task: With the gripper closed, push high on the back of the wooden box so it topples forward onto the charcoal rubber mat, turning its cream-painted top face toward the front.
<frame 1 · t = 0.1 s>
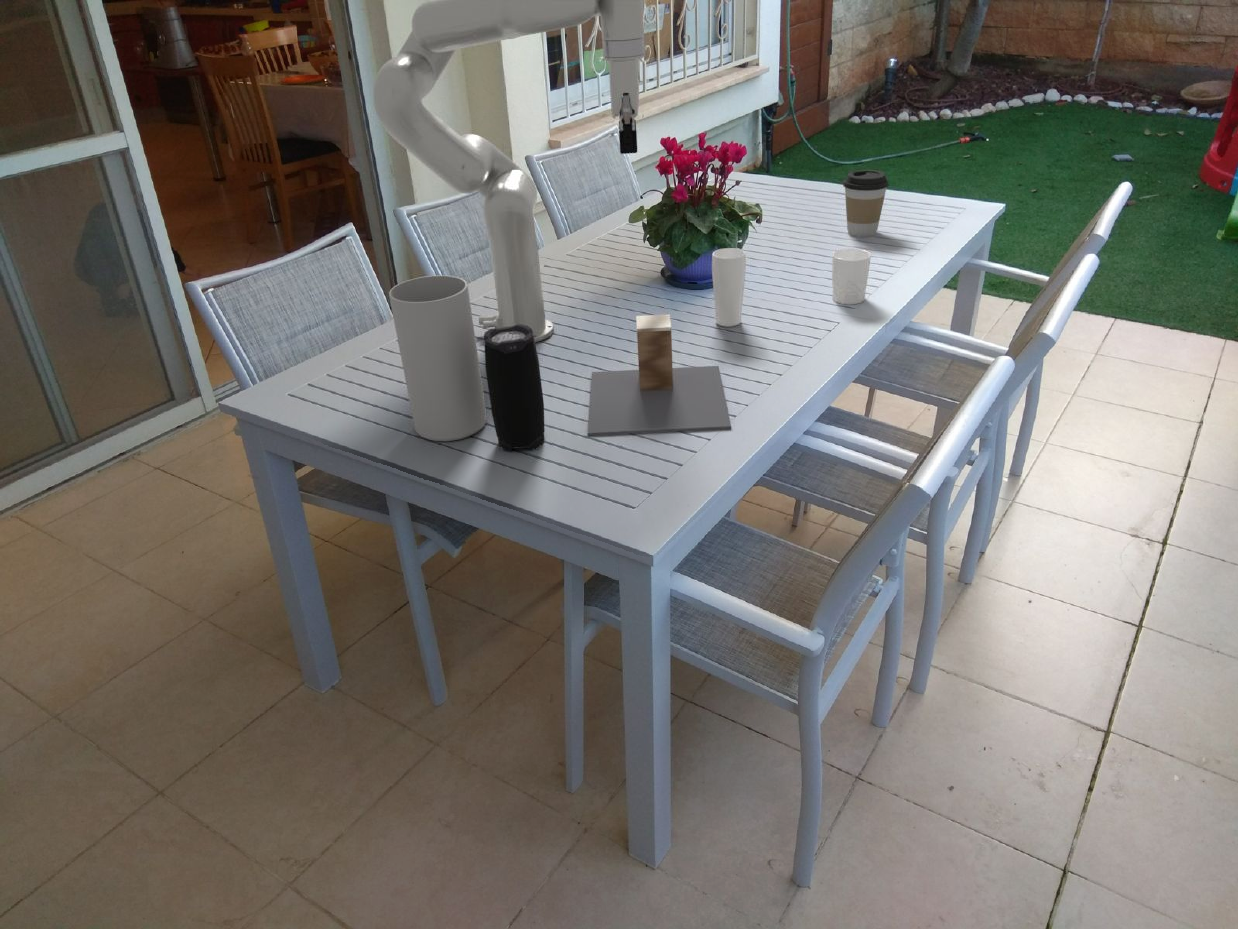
hand: (628, 147, 176), 37 cm above the table, tool pointing down, fingers open, 9 cm apart
cylinder vase: (451, 426, 162), on the table
rubber mat: (657, 399, 166), on the table
portable speaker: (522, 442, 156), on the table
white cup: (848, 299, 202), on the table
coffee cup: (861, 233, 242), on the table
drinking glass 2: (728, 323, 195), on the table
wooden box: (656, 382, 171), resting on rubber mat
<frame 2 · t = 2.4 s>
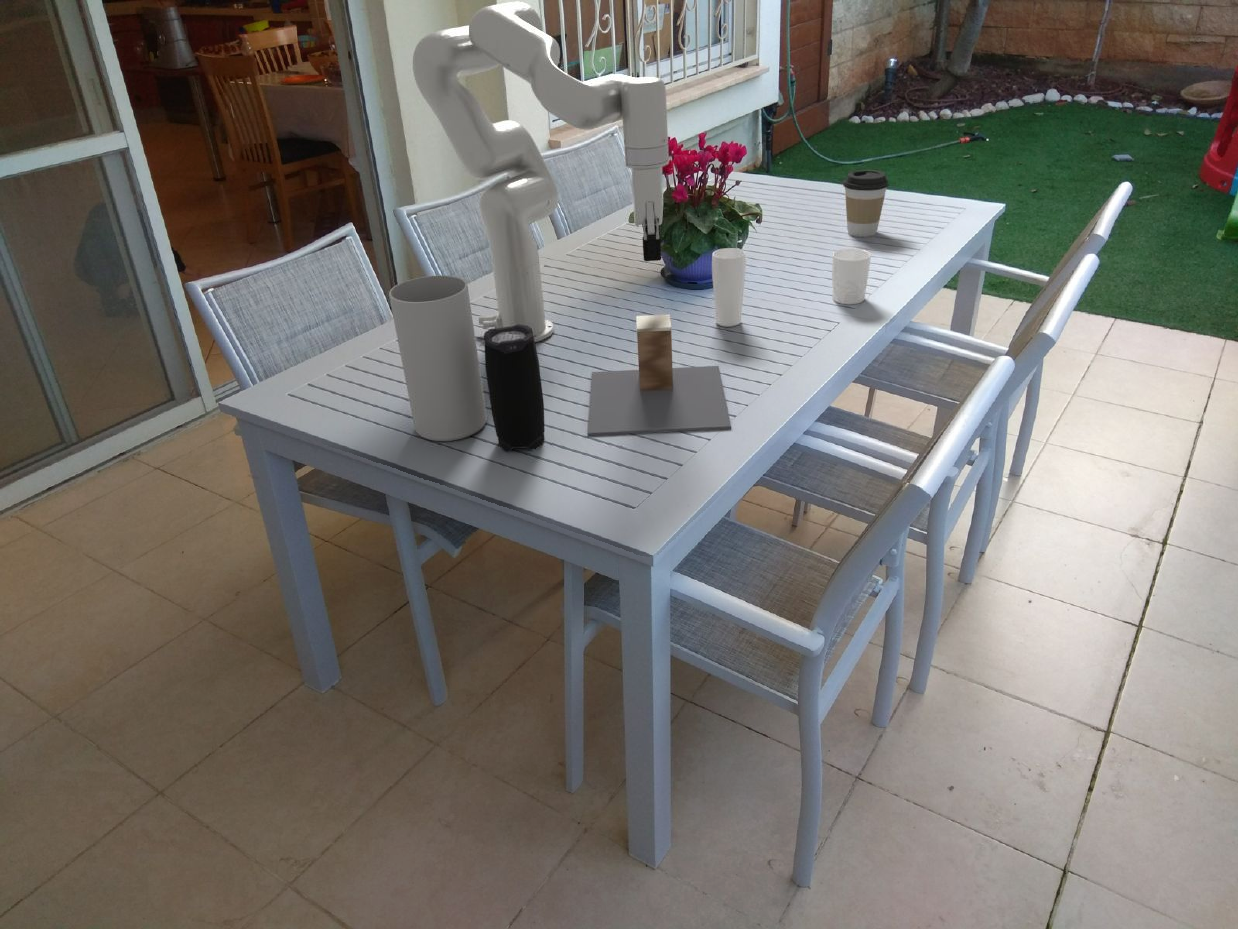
hand: (652, 259, 169), 21 cm above the table, tool pointing down, fingers closed
nothing on the table moved.
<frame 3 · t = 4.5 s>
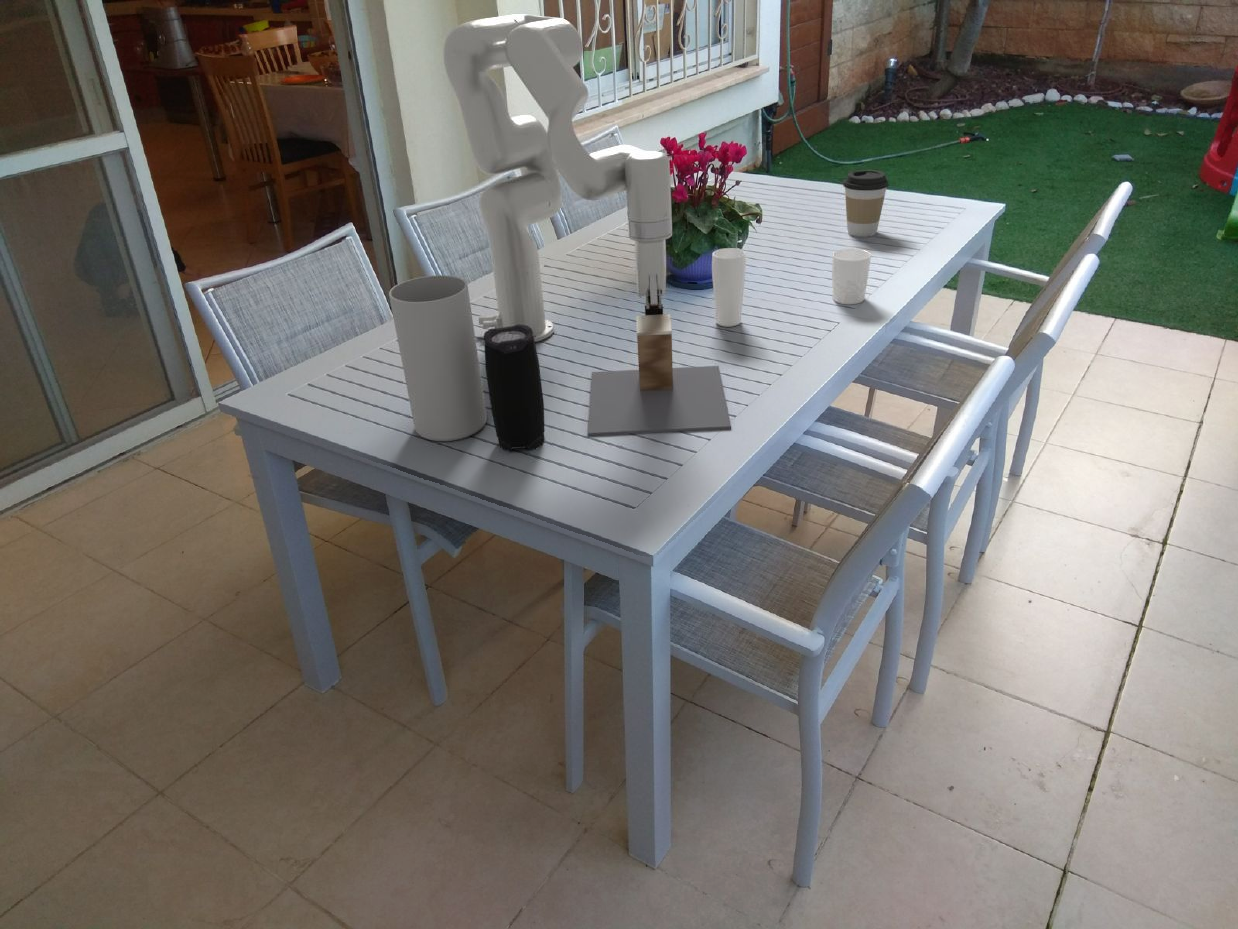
hand: (654, 326, 169), 10 cm above the table, tool pointing down, fingers closed
wooden box: (655, 380, 171), point 1 cm above the table, tilted 7°, touching gripper, rubber mat
everything else where it was.
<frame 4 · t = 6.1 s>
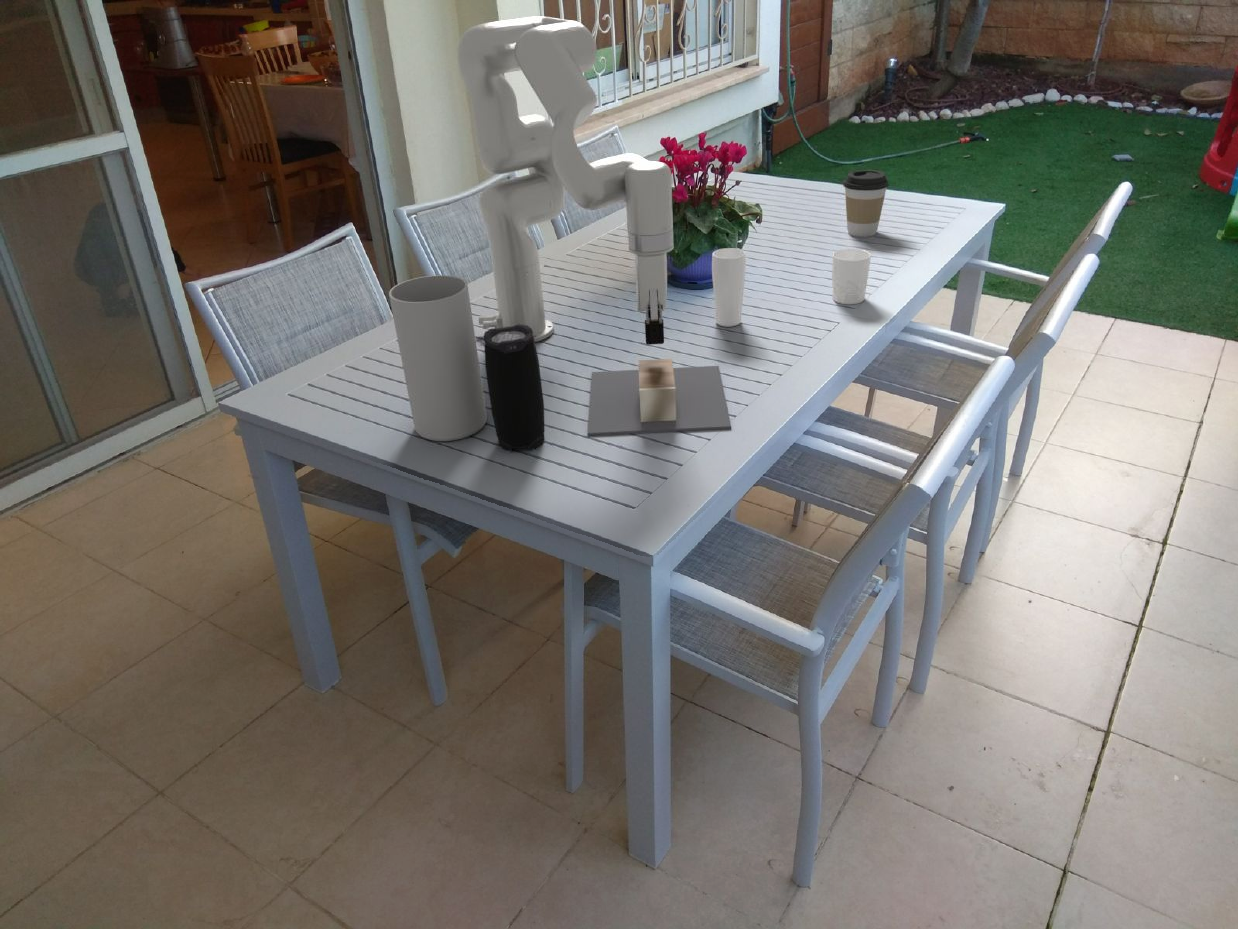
hand: (654, 342, 164), 10 cm above the table, tool pointing down, fingers closed
wooden box: (655, 374, 167), point 3 cm above the table, tilted 90°, touching rubber mat
everything else where it was.
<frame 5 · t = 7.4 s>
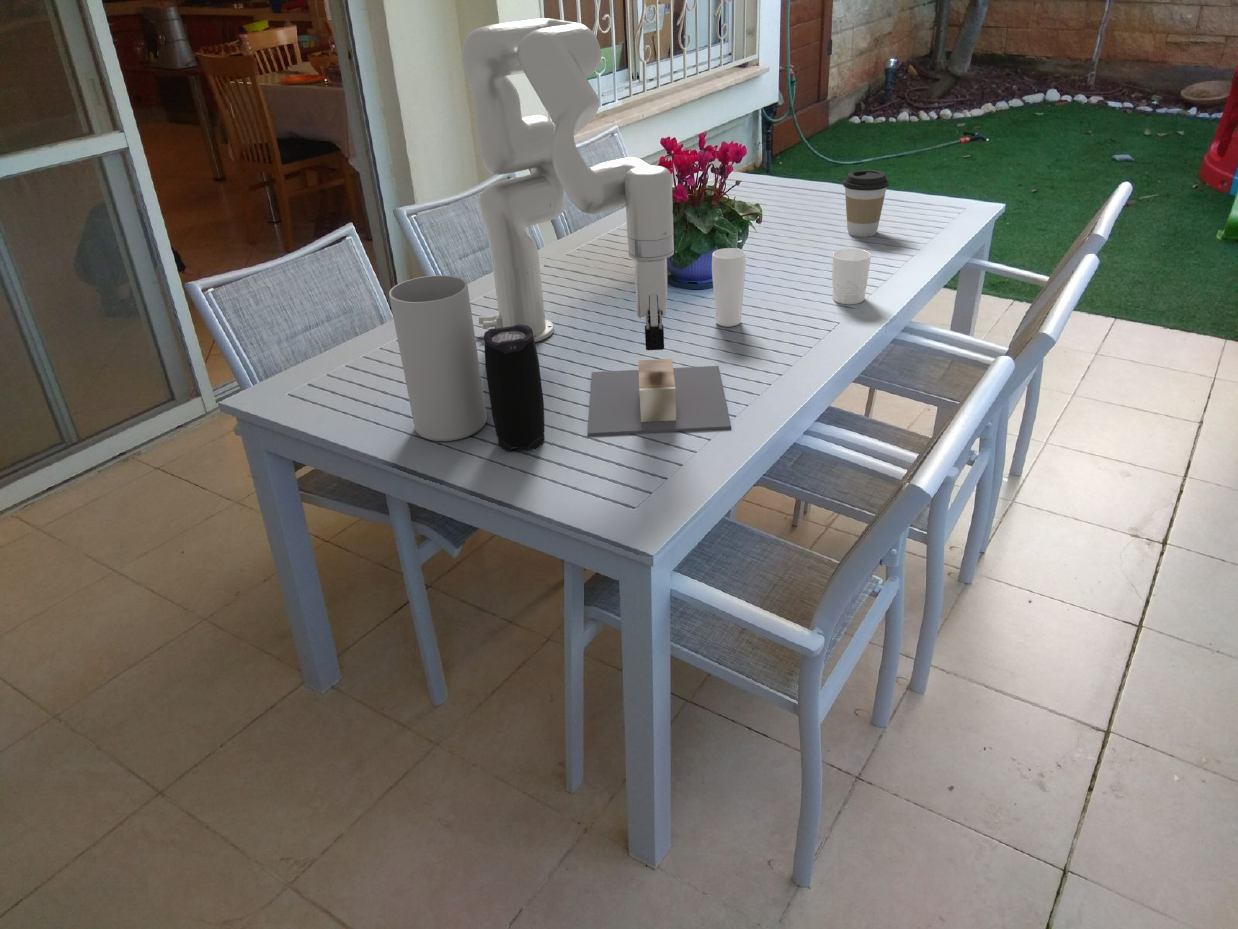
hand: (654, 347, 162), 10 cm above the table, tool pointing down, fingers closed
nothing on the table moved.
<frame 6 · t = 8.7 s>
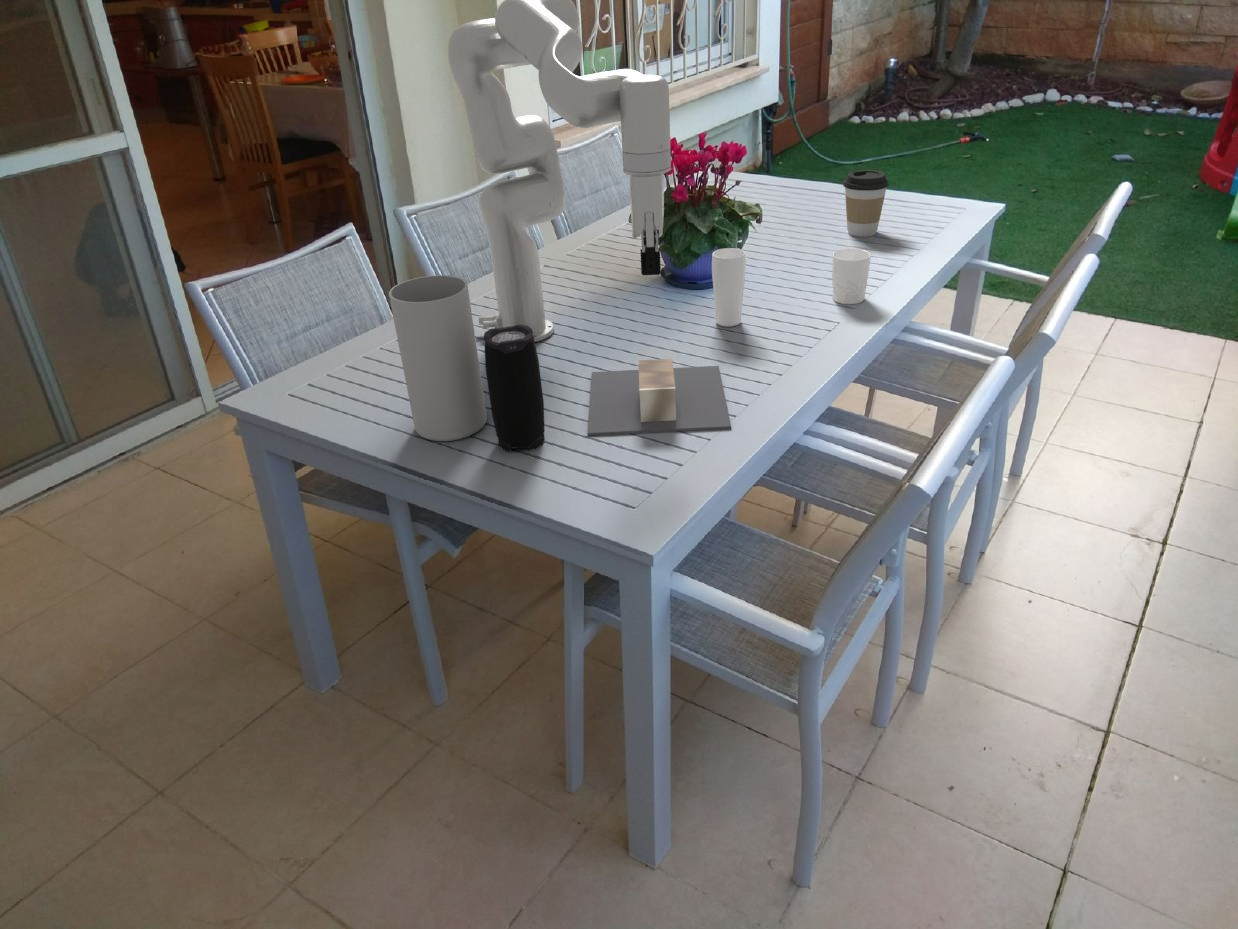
hand: (651, 273, 155), 23 cm above the table, tool pointing down, fingers closed
nothing on the table moved.
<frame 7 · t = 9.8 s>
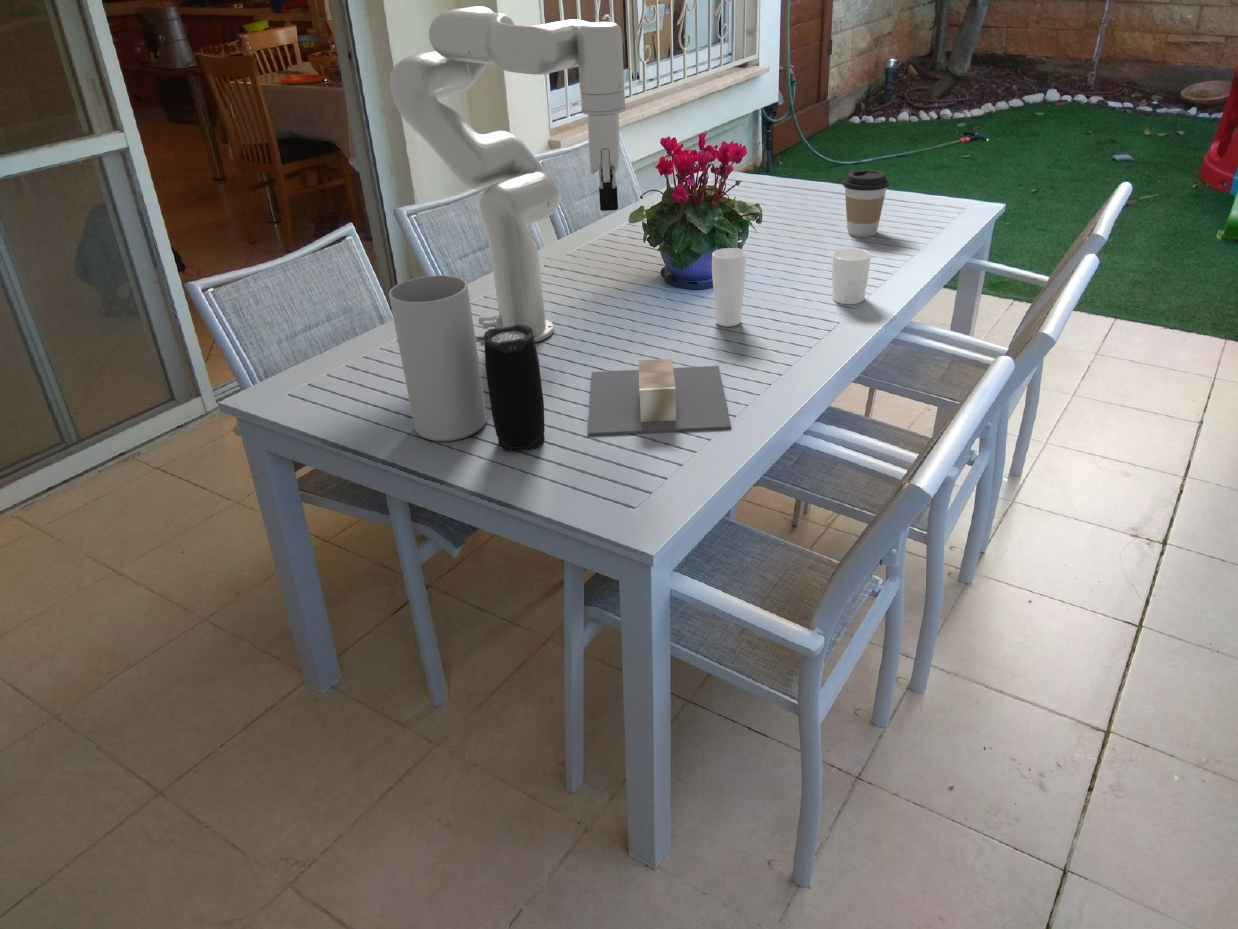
hand: (609, 208, 168), 29 cm above the table, tool pointing down, fingers closed
nothing on the table moved.
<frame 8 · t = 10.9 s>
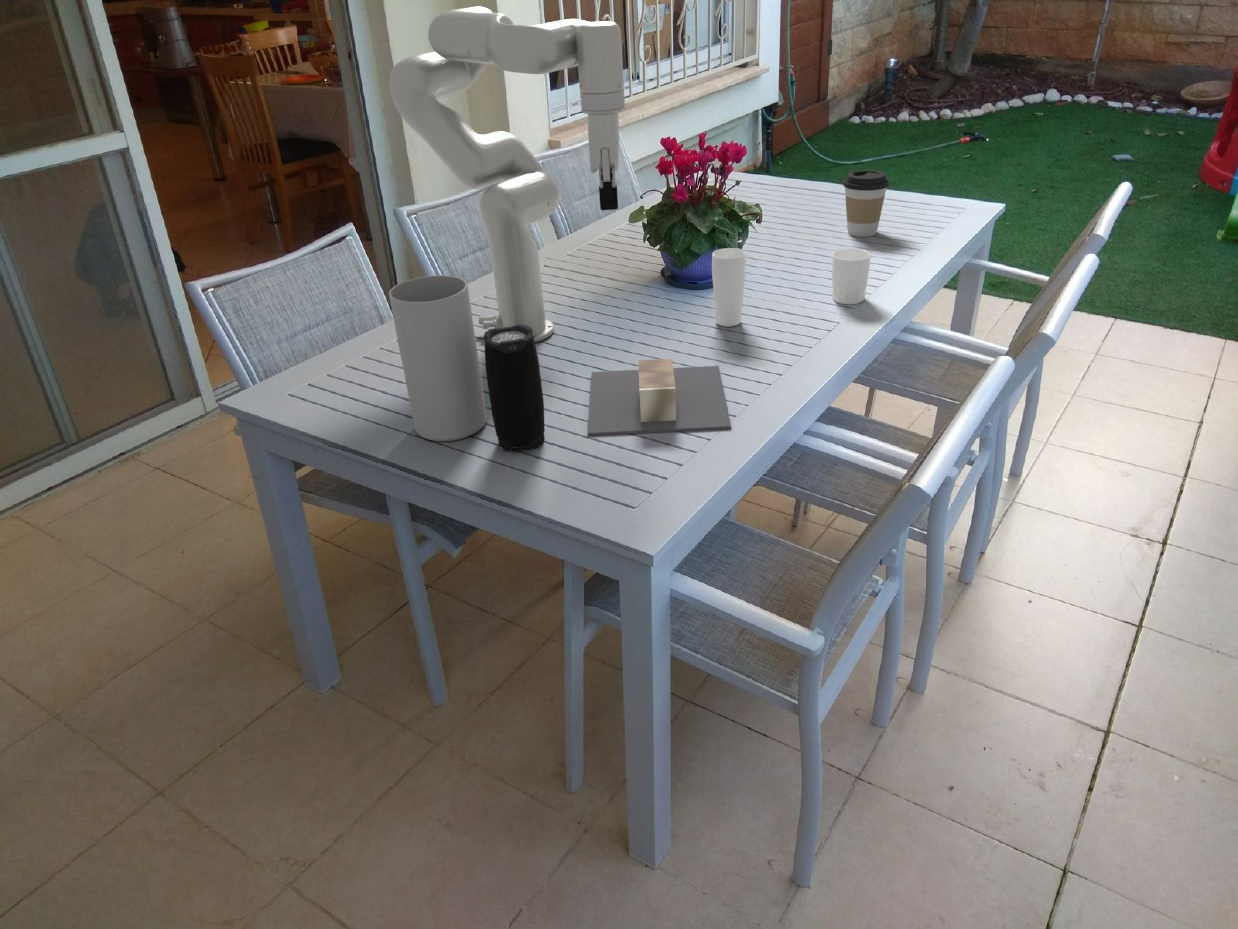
hand: (609, 208, 168), 29 cm above the table, tool pointing down, fingers closed
nothing on the table moved.
at the end: wooden box tilted 90°; wooden box touching rubber mat; wooden box inside the target area on the rubber mat (3.0 cm from its centre), point 3.5 cm above the rubber mat's base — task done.
